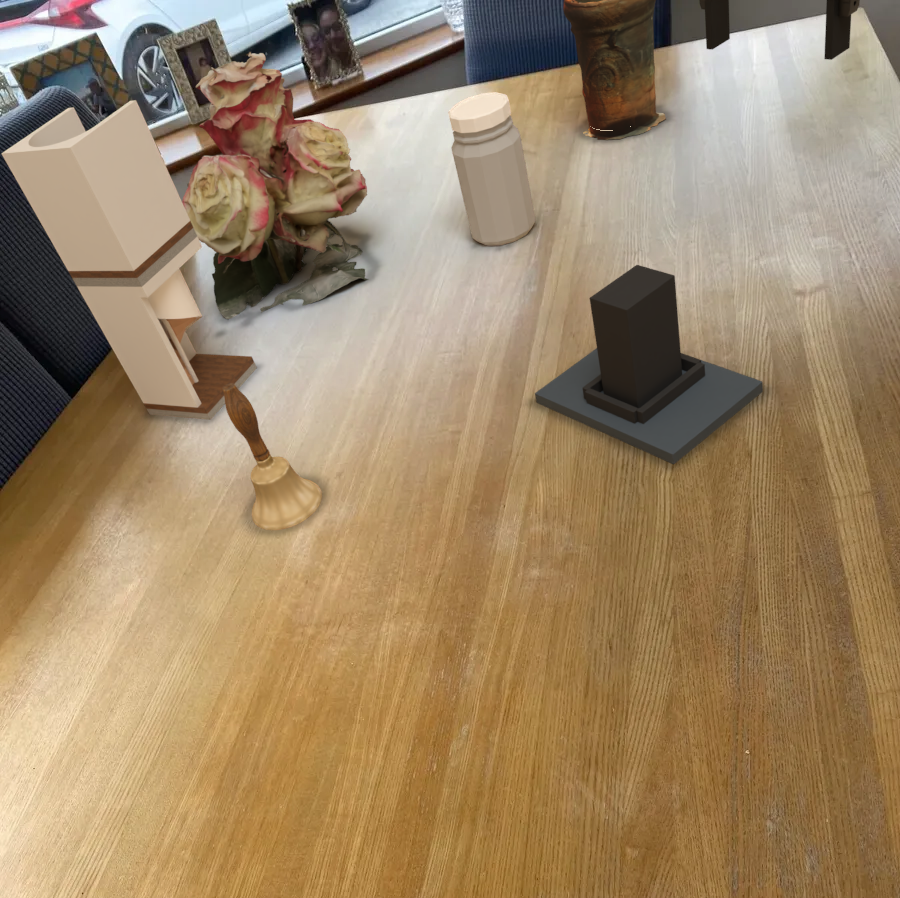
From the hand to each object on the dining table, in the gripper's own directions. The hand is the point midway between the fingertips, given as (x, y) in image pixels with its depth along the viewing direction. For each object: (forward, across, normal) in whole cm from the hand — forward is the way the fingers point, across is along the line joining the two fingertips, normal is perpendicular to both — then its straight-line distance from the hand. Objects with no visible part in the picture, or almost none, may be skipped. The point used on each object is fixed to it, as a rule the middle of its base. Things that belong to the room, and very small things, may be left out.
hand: (774, 49), depth 92 cm
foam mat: (+27, 0, -23) cm, 35 cm away
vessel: (+27, -54, +33) cm, 68 cm away
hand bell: (+27, -21, -58) cm, 67 cm away
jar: (+27, -45, -3) cm, 52 cm away
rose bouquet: (+27, -67, -25) cm, 76 cm away
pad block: (+25, 0, -23) cm, 34 cm away
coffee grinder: (+27, -52, -52) cm, 78 cm away
